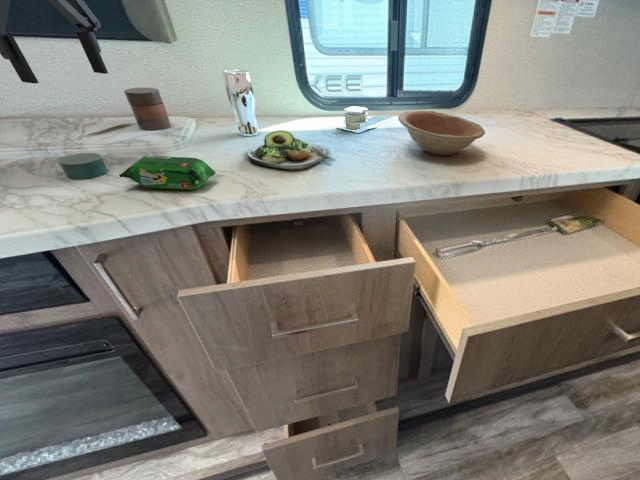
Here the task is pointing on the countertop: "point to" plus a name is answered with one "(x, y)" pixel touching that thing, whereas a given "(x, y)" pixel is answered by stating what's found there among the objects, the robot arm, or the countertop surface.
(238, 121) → the beer glass
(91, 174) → the teal short cylinder
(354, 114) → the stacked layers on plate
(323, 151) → the salad plate
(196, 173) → the snack package
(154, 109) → the brown striped cylinder
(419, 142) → the bowl
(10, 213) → the countertop surface
